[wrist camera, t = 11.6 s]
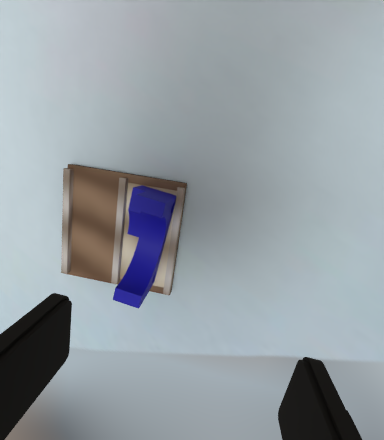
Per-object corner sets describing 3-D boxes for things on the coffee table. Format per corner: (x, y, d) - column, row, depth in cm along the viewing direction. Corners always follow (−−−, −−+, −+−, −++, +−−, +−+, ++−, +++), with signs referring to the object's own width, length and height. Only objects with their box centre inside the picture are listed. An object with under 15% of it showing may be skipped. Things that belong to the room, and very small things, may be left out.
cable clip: (142, 185, 29) (121, 190, 23) (177, 195, 28) (165, 203, 22) (122, 271, 32) (100, 295, 26) (154, 282, 31) (138, 308, 25)
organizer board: (72, 164, 30) (63, 164, 28) (187, 183, 29) (184, 184, 27) (69, 270, 34) (61, 276, 32) (171, 291, 32) (168, 298, 31)
